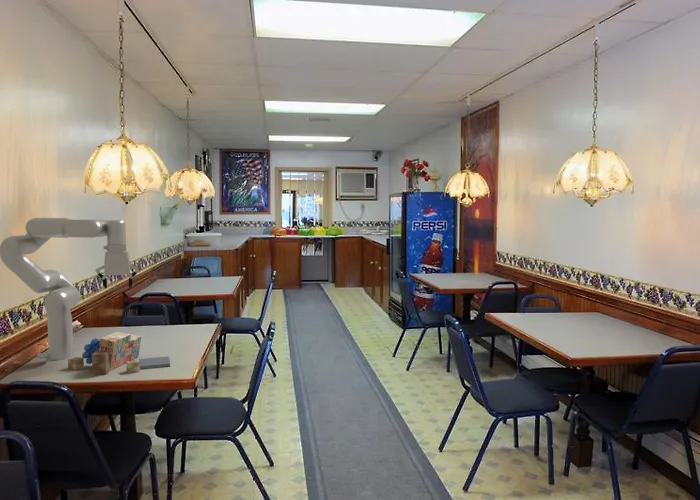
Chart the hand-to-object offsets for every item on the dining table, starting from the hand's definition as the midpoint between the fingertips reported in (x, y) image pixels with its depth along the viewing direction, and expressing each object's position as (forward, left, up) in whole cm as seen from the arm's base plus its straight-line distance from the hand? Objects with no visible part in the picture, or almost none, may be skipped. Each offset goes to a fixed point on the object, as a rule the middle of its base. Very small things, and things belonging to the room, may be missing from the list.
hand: (118, 287), depth 235 cm
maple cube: (+6, -26, -30) cm, 40 cm away
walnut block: (-6, -24, -30) cm, 39 cm away
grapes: (-8, -12, -30) cm, 33 cm away
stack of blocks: (0, -11, -30) cm, 32 cm away
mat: (+14, -18, -30) cm, 38 cm away
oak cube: (-16, -13, -30) cm, 37 cm away
